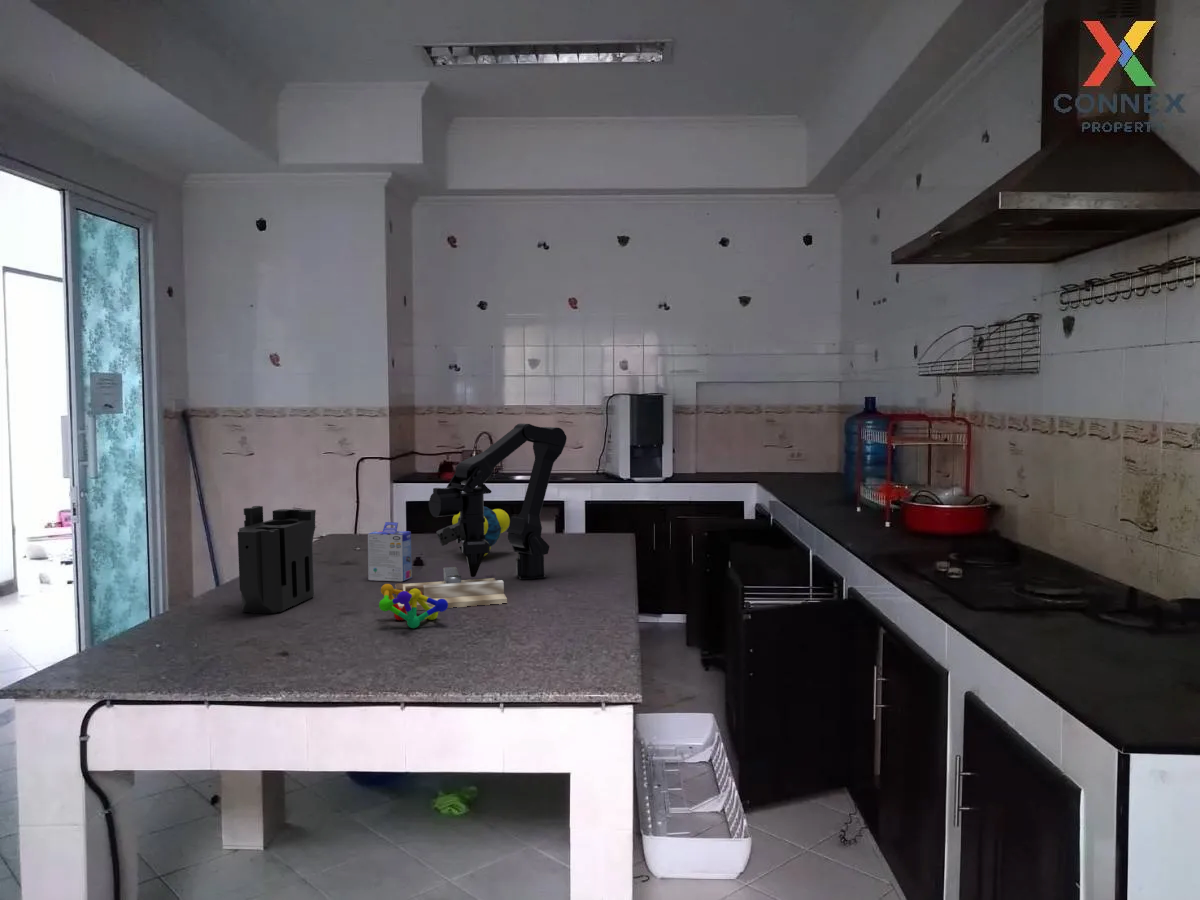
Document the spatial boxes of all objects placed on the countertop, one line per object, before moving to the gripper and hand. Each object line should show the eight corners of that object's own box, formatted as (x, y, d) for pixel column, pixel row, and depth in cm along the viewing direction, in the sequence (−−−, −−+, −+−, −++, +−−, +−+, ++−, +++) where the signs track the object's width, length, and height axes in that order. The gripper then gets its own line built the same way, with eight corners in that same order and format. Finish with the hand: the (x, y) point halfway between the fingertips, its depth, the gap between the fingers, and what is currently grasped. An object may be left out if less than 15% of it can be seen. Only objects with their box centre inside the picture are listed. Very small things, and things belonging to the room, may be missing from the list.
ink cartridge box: (413, 577, 217) (411, 521, 216) (404, 582, 211) (402, 525, 210) (377, 576, 219) (376, 521, 218) (367, 581, 213) (366, 524, 212)
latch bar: (462, 590, 194) (461, 577, 194) (446, 591, 193) (446, 578, 193) (457, 578, 206) (457, 566, 206) (442, 579, 205) (442, 567, 205)
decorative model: (434, 592, 183) (454, 588, 170) (428, 633, 181) (447, 632, 168) (375, 583, 178) (390, 577, 165) (367, 624, 176) (382, 623, 162)
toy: (505, 563, 233) (504, 510, 232) (444, 564, 234) (443, 510, 233) (511, 552, 249) (511, 502, 248) (455, 553, 250) (454, 503, 249)
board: (494, 582, 210) (494, 567, 209) (507, 603, 188) (506, 587, 188) (395, 589, 204) (395, 573, 203) (397, 611, 182) (396, 594, 182)
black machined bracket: (320, 595, 198) (317, 502, 197) (270, 618, 178) (266, 515, 176) (274, 593, 200) (271, 502, 199) (220, 616, 180) (216, 514, 179)
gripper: (435, 509, 210) (436, 571, 211) (440, 520, 192) (442, 587, 193) (480, 507, 213) (481, 568, 214) (489, 517, 195) (490, 584, 196)
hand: (473, 576), depth 205 cm, fingers closed
